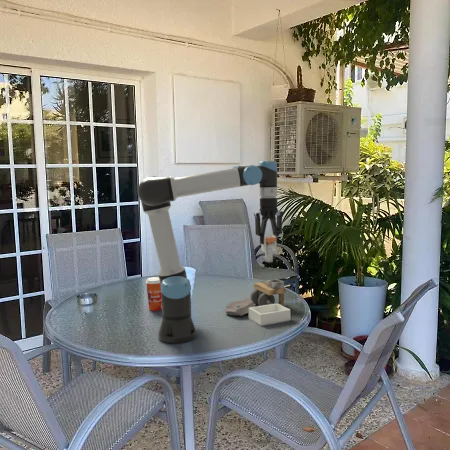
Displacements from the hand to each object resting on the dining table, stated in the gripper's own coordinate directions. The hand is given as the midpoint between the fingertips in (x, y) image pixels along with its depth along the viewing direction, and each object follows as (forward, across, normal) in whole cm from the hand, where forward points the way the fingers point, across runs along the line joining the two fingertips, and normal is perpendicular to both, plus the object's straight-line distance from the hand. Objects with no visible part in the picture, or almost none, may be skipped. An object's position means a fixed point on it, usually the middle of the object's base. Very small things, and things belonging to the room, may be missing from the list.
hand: (268, 250), depth 192 cm
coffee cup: (+31, -41, +39) cm, 65 cm away
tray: (+31, 0, 0) cm, 31 cm away
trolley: (+31, +8, +17) cm, 36 cm away
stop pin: (+5, 0, 0) cm, 5 cm away
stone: (+31, -8, +13) cm, 35 cm away
